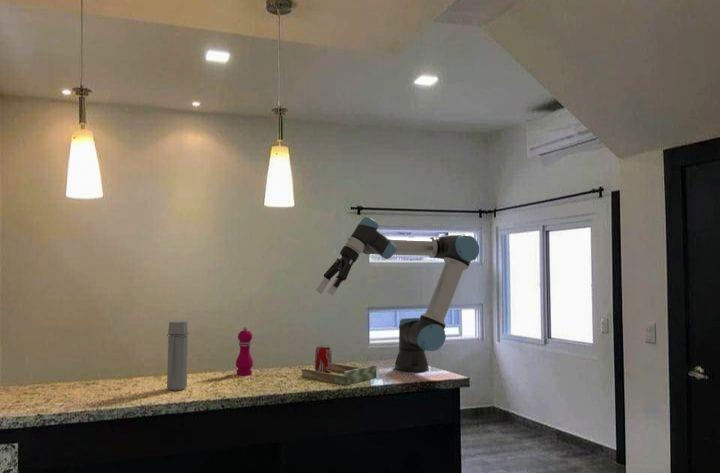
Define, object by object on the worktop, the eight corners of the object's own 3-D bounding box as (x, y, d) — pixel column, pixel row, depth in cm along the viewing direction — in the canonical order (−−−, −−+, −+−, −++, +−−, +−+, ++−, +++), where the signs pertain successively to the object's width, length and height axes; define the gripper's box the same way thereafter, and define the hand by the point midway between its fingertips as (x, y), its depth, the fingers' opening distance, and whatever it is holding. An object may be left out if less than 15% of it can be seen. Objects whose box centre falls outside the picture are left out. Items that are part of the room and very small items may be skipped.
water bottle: (171, 386, 234) (173, 320, 235) (191, 387, 233) (192, 320, 234) (159, 391, 225) (161, 322, 226) (179, 392, 224) (181, 323, 224)
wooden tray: (332, 370, 274) (332, 358, 274) (376, 377, 259) (376, 365, 259) (301, 376, 258) (302, 364, 258) (346, 384, 243) (346, 371, 244)
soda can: (323, 376, 259) (324, 347, 260) (311, 374, 263) (311, 346, 264) (334, 374, 265) (335, 346, 265) (322, 372, 269) (322, 344, 269)
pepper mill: (233, 375, 257) (234, 327, 258) (237, 372, 264) (238, 325, 265) (250, 376, 257) (252, 327, 257) (254, 372, 264) (255, 325, 265)
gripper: (334, 245, 266) (307, 286, 261) (356, 244, 243) (327, 288, 238) (347, 255, 269) (320, 296, 263) (371, 255, 246) (342, 299, 240)
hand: (323, 292), depth 251 cm, fingers open, 13 cm apart
